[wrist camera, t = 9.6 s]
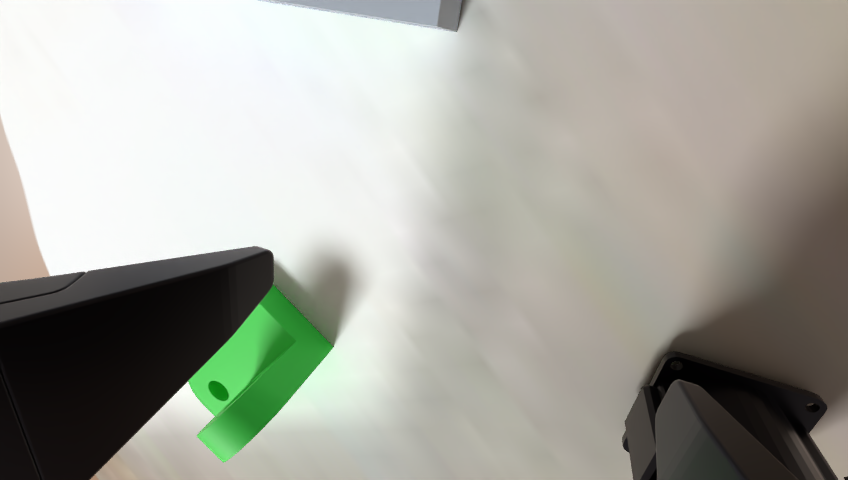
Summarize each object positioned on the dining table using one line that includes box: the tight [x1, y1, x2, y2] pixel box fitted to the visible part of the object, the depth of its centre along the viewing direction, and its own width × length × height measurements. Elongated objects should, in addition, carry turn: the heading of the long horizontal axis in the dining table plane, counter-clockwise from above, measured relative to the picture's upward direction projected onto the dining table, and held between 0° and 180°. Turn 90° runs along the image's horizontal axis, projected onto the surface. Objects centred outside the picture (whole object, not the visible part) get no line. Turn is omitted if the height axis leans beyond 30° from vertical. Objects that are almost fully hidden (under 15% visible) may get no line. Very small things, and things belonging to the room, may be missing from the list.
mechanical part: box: [188, 285, 333, 462], centre depth 27 cm, size 12×6×8 cm, turn 135°
